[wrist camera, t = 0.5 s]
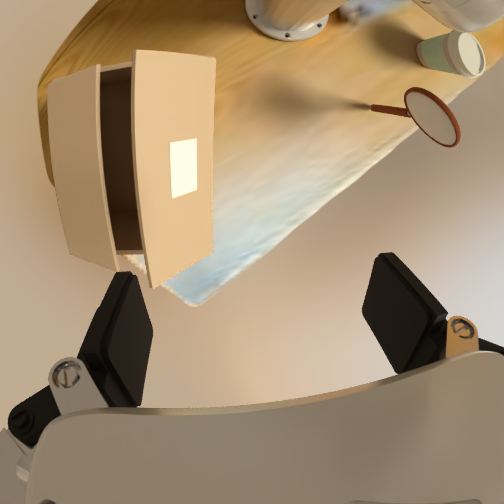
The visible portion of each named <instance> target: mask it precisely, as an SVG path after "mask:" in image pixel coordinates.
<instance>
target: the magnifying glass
mask: <svg viewBox="0 0 504 504" xmlns="http://www.w3.org/2000/svg"><path fill="white" fill-rule="evenodd" d="M404 102H405V106H406V108H407V109H406V108H399V107H392V106H383V105H374V104H373V105H371V106H370V107H369V108H370V109H371V110H372V111H375V112H381V113H387V114H393V115H399V116H404V117H409V118H410V117H412V119H413V120H414V122H415V123H416V124H417V125H418V127H419V128H420V129H421V130H422V131H423V132H424V133H425V134H426V135H427V136H429V137H430V138H431V139H432V140H434V141H435V142H436V143H438V144H440V145H442V146H445V147H454V146H456V145H457V144H458V143H459V141H460V128H459V125H458V122H457V120H456V119H455V117H454V115H453V113H452V112H451V111H450V109H449V108H448V107H447V106H446V104H445V103H444V102H443V101H442V100H440V99H439V98H438V97H437V96H436V95H434V94H433V93H431V92H429V91H428V90H425V89H423V88H419V87H413V88H410V89H408V90H407V91H406V92H405V95H404Z"/></svg>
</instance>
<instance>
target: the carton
mask: <svg viewBox="0 0 504 504" xmlns="http://www.w3.org/2000/svg"><path fill="white" fill-rule="evenodd" d="M198 56H204V57H211V58H213V55H198ZM67 76H68V75H67ZM131 76H132V61H130V62H124V63H119V64H113V65H108V66H103V67H100V130H101V147H102V160H103V170H104V180H105V188H106V195H107V203H108V209H109V216H110V222H111V227H112V233H113V238H114V243H115V248H116V253H117V255H124V254H144V253H143V247H142V240H141V233H140V226H139V218H138V210H137V201H136V192H135V181H134V168H133V153H132V131H131ZM64 77H65V76H64ZM61 78H63V77H60V78H57V79H54V80H52V82H54V81H56V80H59V79H61Z"/></svg>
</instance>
